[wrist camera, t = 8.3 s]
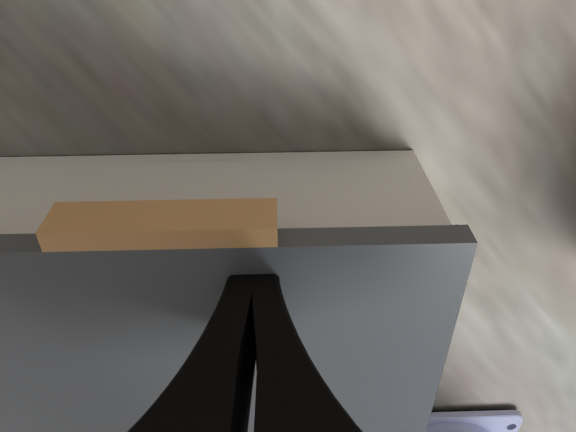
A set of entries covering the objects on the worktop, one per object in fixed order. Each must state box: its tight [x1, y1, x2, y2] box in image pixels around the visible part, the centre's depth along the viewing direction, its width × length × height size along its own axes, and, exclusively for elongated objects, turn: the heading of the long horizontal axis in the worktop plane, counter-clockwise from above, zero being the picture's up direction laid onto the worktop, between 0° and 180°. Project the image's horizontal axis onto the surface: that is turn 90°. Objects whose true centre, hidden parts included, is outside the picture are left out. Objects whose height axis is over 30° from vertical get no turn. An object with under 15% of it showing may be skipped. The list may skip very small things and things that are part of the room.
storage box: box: [0, 150, 452, 234], centre depth 19 cm, size 12×16×5 cm
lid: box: [0, 198, 477, 432], centre depth 17 cm, size 13×16×1 cm
